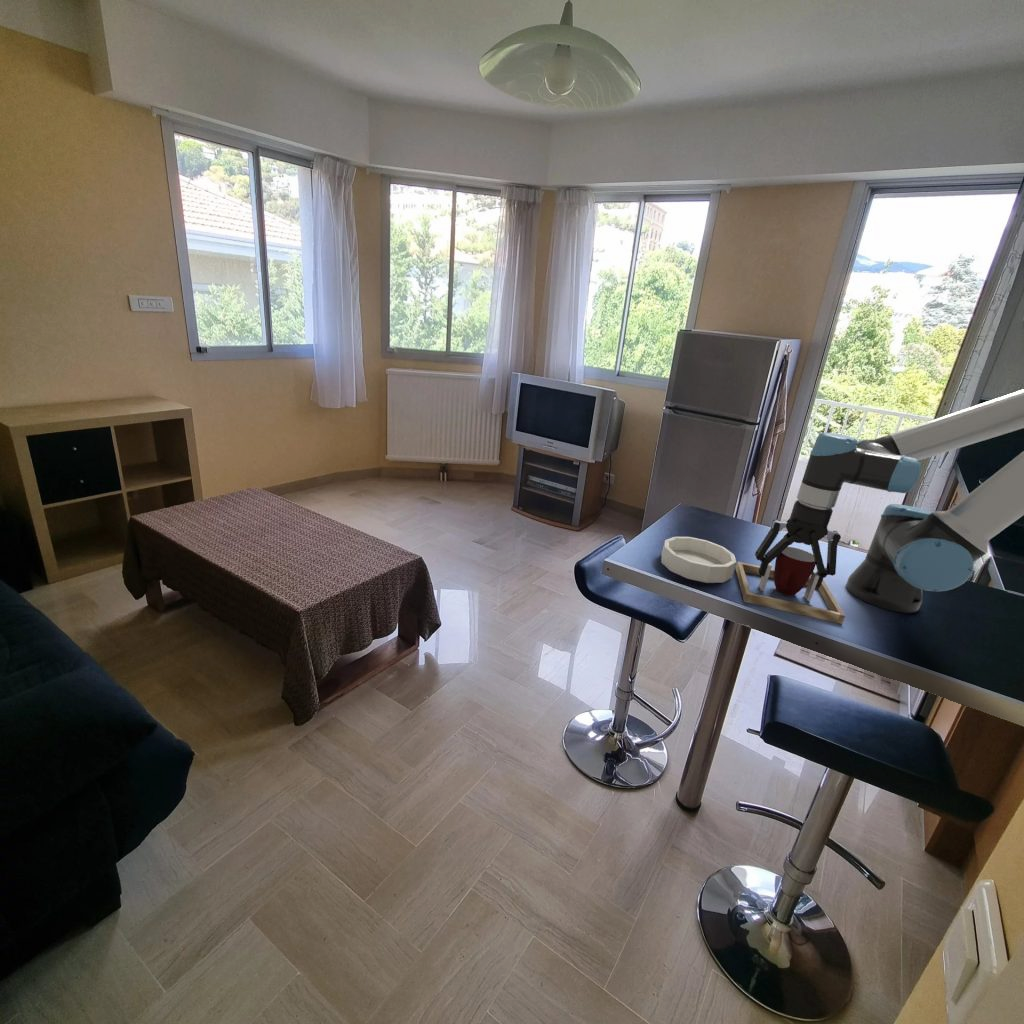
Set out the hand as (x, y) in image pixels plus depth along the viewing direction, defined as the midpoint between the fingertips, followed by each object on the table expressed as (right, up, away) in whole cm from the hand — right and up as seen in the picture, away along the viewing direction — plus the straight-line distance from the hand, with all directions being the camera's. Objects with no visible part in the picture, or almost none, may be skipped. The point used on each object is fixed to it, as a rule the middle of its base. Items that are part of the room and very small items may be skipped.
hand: (784, 593), depth 122 cm
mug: (0, 0, 0) cm, 0 cm away
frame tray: (0, 0, 0) cm, 0 cm away
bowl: (-18, +5, +9) cm, 21 cm away
